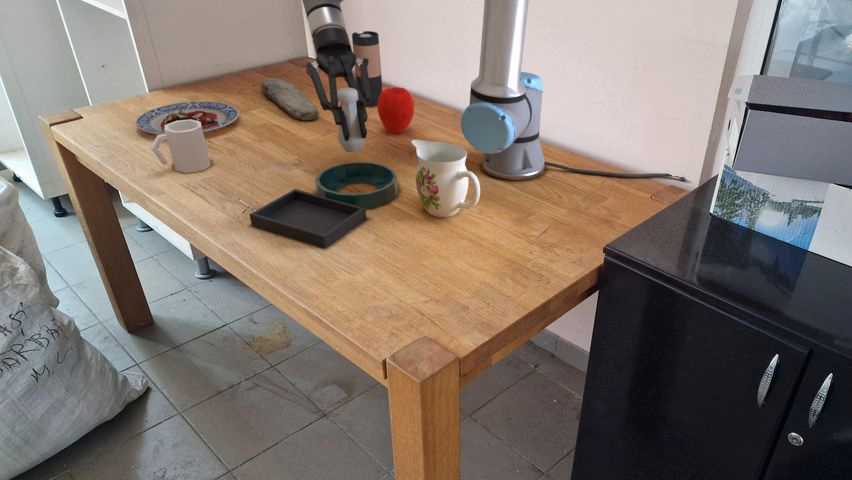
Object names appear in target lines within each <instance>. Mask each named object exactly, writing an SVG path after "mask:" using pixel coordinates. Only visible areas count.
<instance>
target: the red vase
mask: <svg viewBox="0 0 852 480" xmlns="http://www.w3.org/2000/svg"><path fill="white" fill-rule="evenodd" d="M376 108H377V113H378V117H379V121H380V122H381V124H382V125H383V127H384V128H385V129H386V130H387V131H388V132H389V133H390V134H398V133H399V134H400V133H402V132H404V131H406V130H407V128H408V127H409V126H410V124H411V122H412V120H413V117H414V115H415V102H414V99H413V97H412V95H411V92H409V91H408V90H407V88H404V87H397V86H393V87H390V88H385V89H382V92H381V94H380V96H379V99H378V106H376Z"/></svg>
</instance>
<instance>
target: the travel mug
mask: <svg viewBox="0 0 852 480" xmlns="http://www.w3.org/2000/svg"><path fill="white" fill-rule="evenodd" d="M351 38H352V39H351V41H352V52H353V53H354V54H355V55H356V58H359V59H362V60H363V59H364V58H367V59H368V60H369V62H368V67H367V71H368V77H369V83H370V89H371V95H372V100H371V104H370V105H369V106H367V107H368V108H370V107H377V106H378V99H379V96H380V94H381V92H382V91H383V81H382V80H383V76H382V62H381V50H380V49H381V48H380V39H379V38H380V37H379V33H378V32H376V31H372V30H365V31H363V32H361V33H358V31H357V32H356V31H355V32H353V33H351ZM360 72H361V70H359V69H358V67H357V65H356V64H355V65H354V78H355V81H356V83H357V85H358V88H359V90H360V92H361V95H362V97H363V98H364V94H363V88H362V82H361V76H360Z"/></svg>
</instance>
